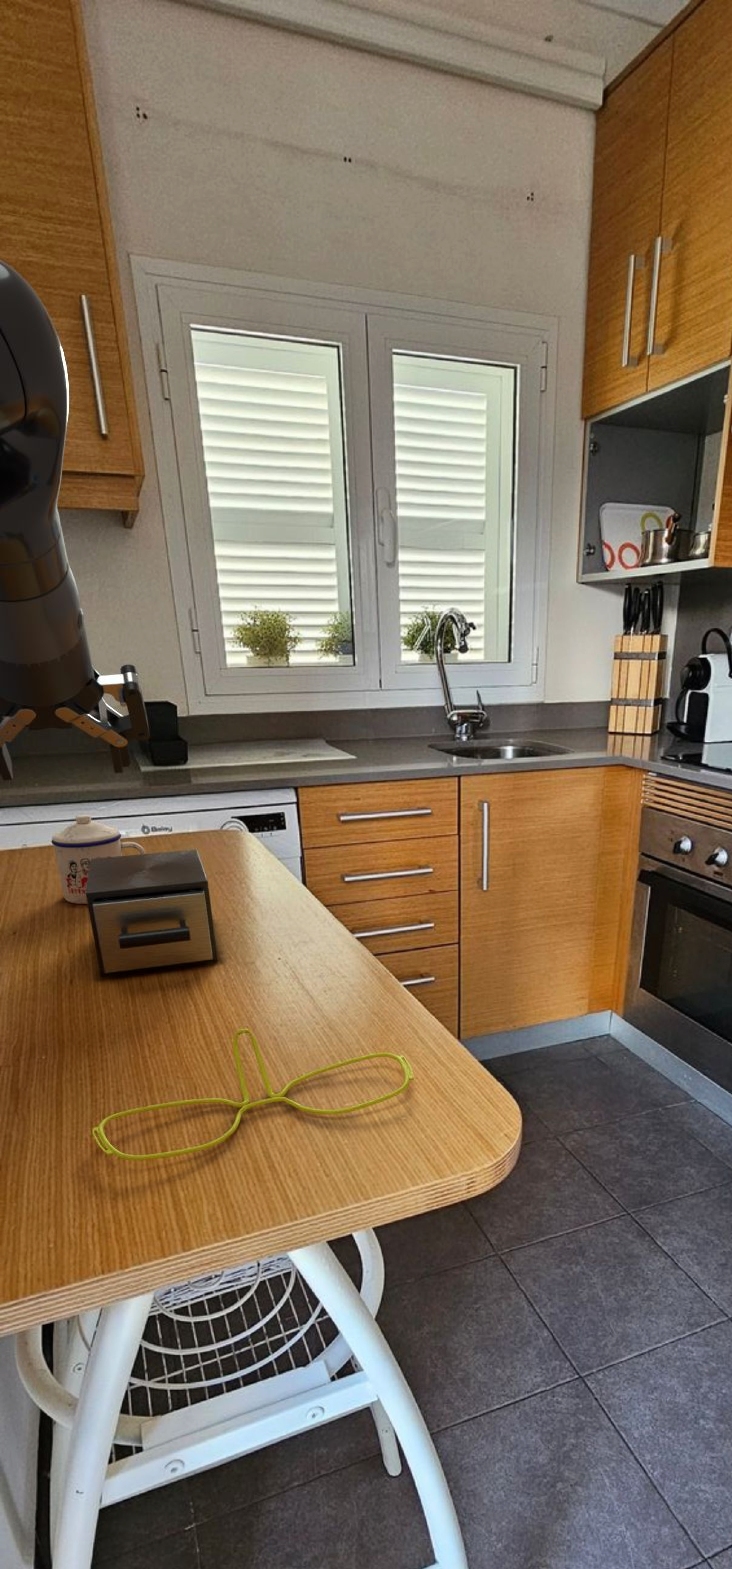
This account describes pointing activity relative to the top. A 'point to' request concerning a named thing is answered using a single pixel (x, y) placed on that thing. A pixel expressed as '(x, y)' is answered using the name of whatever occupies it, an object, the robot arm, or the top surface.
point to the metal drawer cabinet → (146, 886)
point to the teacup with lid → (84, 853)
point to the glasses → (244, 1105)
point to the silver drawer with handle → (152, 930)
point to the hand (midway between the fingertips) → (63, 768)
